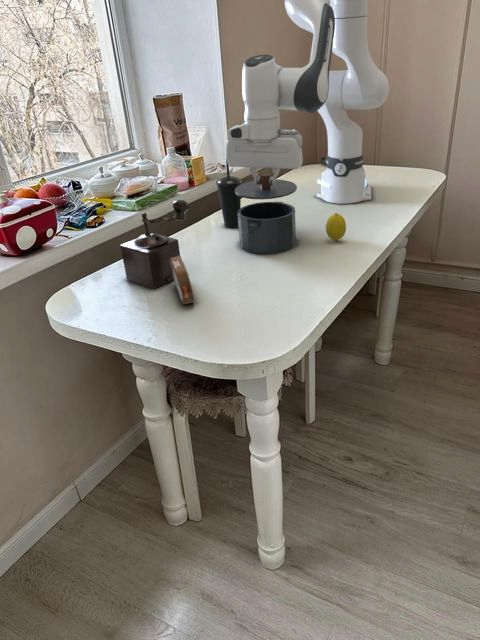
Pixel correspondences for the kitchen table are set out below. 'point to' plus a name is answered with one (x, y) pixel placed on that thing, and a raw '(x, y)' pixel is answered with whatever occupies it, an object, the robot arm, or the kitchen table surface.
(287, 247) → the pot
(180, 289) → the tin
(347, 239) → the kitchen table surface
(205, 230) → the kitchen table surface
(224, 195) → the drinking cup
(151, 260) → the manual coffee grinder
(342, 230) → the lemon
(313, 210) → the kitchen table surface
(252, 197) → the lid
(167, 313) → the kitchen table surface
